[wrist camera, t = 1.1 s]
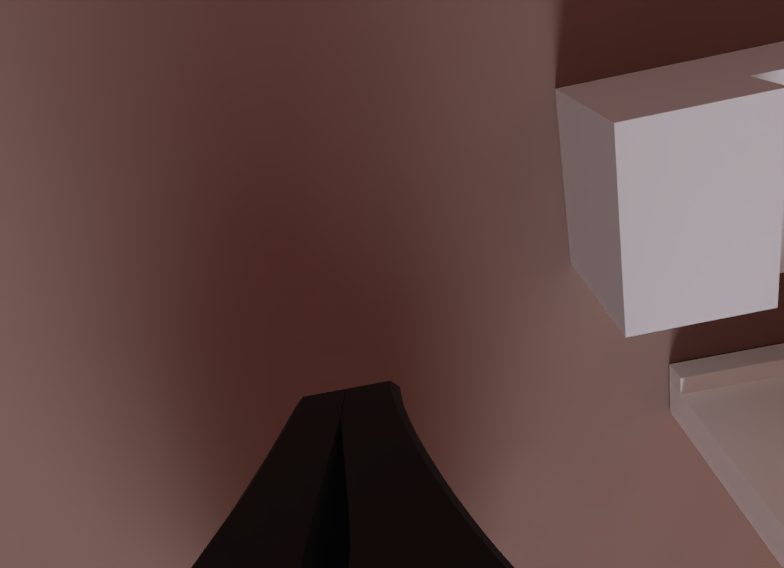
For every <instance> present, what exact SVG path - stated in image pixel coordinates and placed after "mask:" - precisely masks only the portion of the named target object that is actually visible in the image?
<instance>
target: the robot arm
mask: <svg viewBox="0 0 784 568" xmlns="http://www.w3.org/2000/svg"><path fill="white" fill-rule="evenodd" d="M191 568H514V567H513V566H512V565H511V564H510V562H509V561H508V560H507V559H506V558H505V557H504V556H503V555H502V553H501V552H500V551H499V550H498V549H497V548H496V546H495V545H494V544H493V543H492V542H491V540H490V539H489V538H488V537H487V536H486V534H485V533H484V532H483V531H482V529H481V528H480V527H479V526H478V524H477V523H476V522H475V521H474V519H473V518H472V517H471V515H470V514H469V513H468V511H467V510H466V509H465V507H464V506H463V505H462V503H461V502H460V501H459V499H458V498H457V497H456V495H455V494H454V493H453V491H452V490H451V488H450V487H449V485H448V484H447V482H446V481H445V480H444V478H443V477H442V475H441V473H440V472H439V470H438V469H437V467H436V466H435V464H434V462H433V461H432V459H431V458H430V456H429V454H428V453H427V451H426V450H425V448H424V446H423V444H422V443H421V441H420V439H419V437H418V436H417V434H416V432H415V430H414V428H413V426H412V424H411V422H410V420H409V417H408V415H407V413H406V410H405V408H404V405H403V400H402V396H401V391H400V387H399V386H398V385H396V384H394V383H393V382H391V381H386V382H381V383H376V384H370V385H365V386H360V387H354V388H349V389H343V390H338V391H333V392H327V393H322V394H317V395H311V396H306V397H303V398H302V399H301V400H300V402H299V403H298V404H297V406H296V408H295V409H294V411H293V413H292V414H291V416H290V418H289V420H288V421H287V423H286V425H285V426H284V428H283V430H282V432H281V433H280V435H279V437H278V438H277V440H276V442H275V444H274V445H273V447H272V449H271V450H270V452H269V454H268V455H267V457H266V459H265V460H264V462H263V464H262V465H261V467H260V468H259V470H258V471H257V473H256V475H255V476H254V478H253V479H252V481H251V482H250V484H249V485H248V487H247V489H246V490H245V492H244V493H243V495H242V496H241V498H240V500H239V501H238V503H237V504H236V506H235V507H234V509H233V510H232V512H231V513H230V515H229V516H228V518H227V519H226V520H225V522H224V523H223V524H222V526H221V527H220V529H219V530H218V531H217V533H216V534H215V536H214V537H213V538H212V540H211V541H210V543H209V544H208V545H207V547H206V548H205V550H204V551H203V552H202V554H201V555H200V556H199V558H198V559H197V561H196V562H195V563H194V565H193V566H192V567H191Z"/></svg>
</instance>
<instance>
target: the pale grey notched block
mask: <svg viewBox="0 0 784 568" xmlns="http://www.w3.org/2000/svg"><path fill="white" fill-rule="evenodd" d="M555 93H556V104H557V116H558V127H559V138H560V149H561V160H562V171H563V183H564V194H565V205H566V216H567V227H568V238H569V250H570V261H571V265H572V266H573V268H574V269H575V270H576V272H577V273H578V274H579V276H580V277H581V278H582V280H583V281H584V282H585V284H586V285H587V286H588V288H589V289H590V290H591V292H592V293H593V294H594V296H595V297H596V298H597V300H598V301H599V302H600V304H601V305H602V306H603V308H604V309H605V310H606V312H607V313H608V314H609V316H610V317H611V318H612V320H613V321H614V322H615V324H616V325H617V326H618V328H619V329H620V331H621V332H622V333H623V335H624V336H625V337H630V336H635V335H641V334H646V333H651V332H656V331H661V330H666V329H671V328H676V327H682V326H687V325H692V324H697V323H702V322H707V321H712V320H717V319H723V318H728V317H733V316H738V315H743V314H748V313H753V312H758V311H763V310H769V309H774V308H778V292H779V274H780V273H784V41H782V42H777V43H773V44H768V45H763V46H758V47H753V48H748V49H744V50H739V51H734V52H729V53H724V54H720V55H715V56H710V57H705V58H700V59H696V60H691V61H686V62H681V63H676V64H672V65H667V66H662V67H657V68H652V69H648V70H643V71H638V72H633V73H628V74H624V75H619V76H614V77H609V78H604V79H600V80H595V81H590V82H585V83H580V84H576V85H571V86H566V87H561V88H556V89H555Z"/></svg>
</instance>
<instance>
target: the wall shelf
mask: <svg viewBox="0 0 784 568" xmlns="http://www.w3.org/2000/svg"><path fill="white" fill-rule="evenodd" d="M669 379H670V412H671V413H672V415H673V416H674V418H675V419H676V420H677V422H678V423H679V424H680V426H681V427H682V429H683V430H684V431H685V433H686V434H687V436H688V437H689V438H690V440H691V441H692V443H693V444H694V445H695V447H696V448H697V450H698V451H699V452H700V454H701V455H702V456H703V458H704V459H705V461H706V462H707V463H708V465H709V466H710V468H711V469H712V470H713V472H714V473H715V475H716V476H717V477H718V479H719V480H720V481H721V483H722V484H723V486H724V487H725V488H726V490H727V491H728V493H729V494H730V495H731V497H732V498H733V500H734V501H735V502H736V504H737V505H738V507H739V508H740V509H741V511H742V512H743V513H744V515H745V516H746V518H747V519H748V520H749V522H750V523H751V525H752V526H753V527H754V529H755V530H756V532H757V533H758V534H759V536H760V537H761V538H762V540H763V541H764V543H765V544H766V545H767V547H768V548H769V550H770V551H771V552H772V554H773V555H774V557H775V558H776V559H777V561H778V562H779V564H780V565H781V566H782V568H784V343H782V344H776V345H771V346H766V347H760V348H755V349H749V350H744V351H738V352H733V353H728V354H722V355H717V356H711V357H706V358H700V359H695V360H690V361H684V362H679V363H673V364H669Z"/></svg>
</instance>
